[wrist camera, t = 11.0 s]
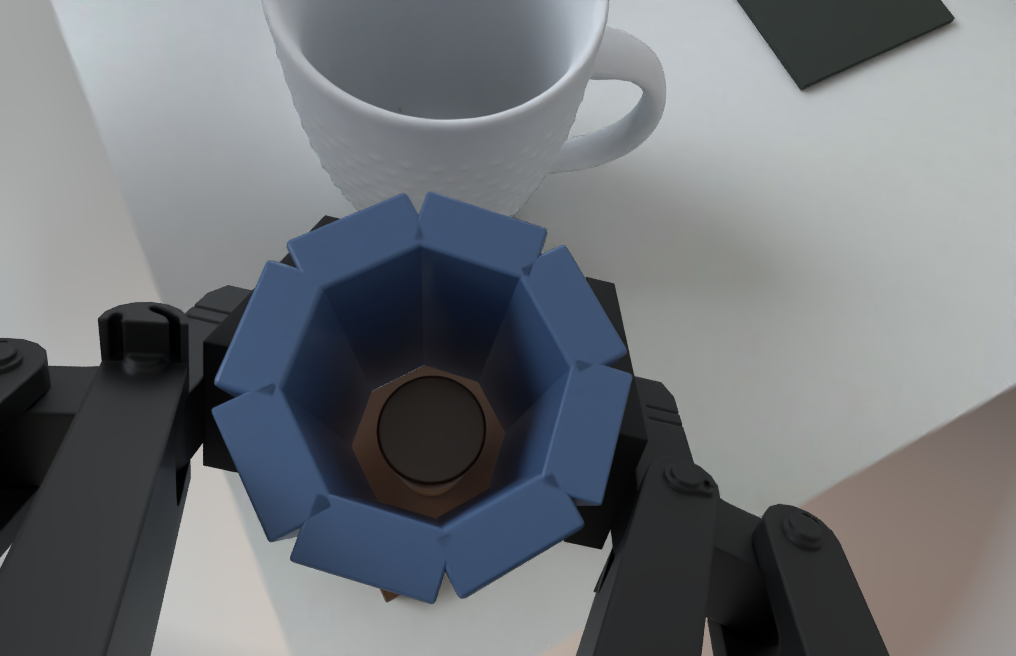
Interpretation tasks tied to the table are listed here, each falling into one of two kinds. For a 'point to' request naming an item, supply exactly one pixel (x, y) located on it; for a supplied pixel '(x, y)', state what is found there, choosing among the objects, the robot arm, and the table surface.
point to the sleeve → (401, 349)
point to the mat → (839, 31)
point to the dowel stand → (428, 442)
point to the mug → (457, 93)
